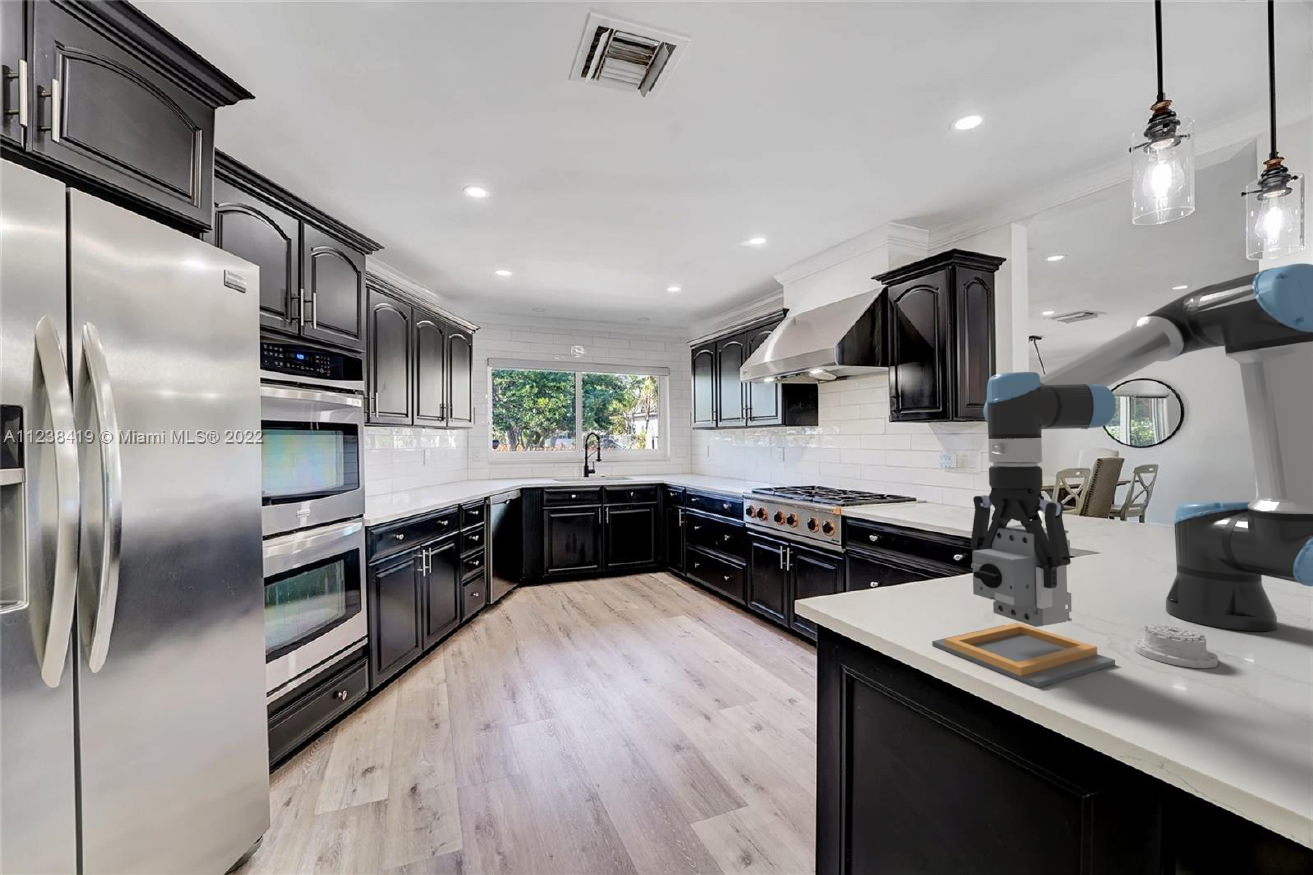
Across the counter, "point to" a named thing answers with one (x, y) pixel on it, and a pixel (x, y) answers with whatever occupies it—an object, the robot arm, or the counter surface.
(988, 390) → the robot arm
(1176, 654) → the mechanical component
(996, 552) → the circuit breaker
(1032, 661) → the base
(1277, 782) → the counter surface
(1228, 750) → the counter surface
